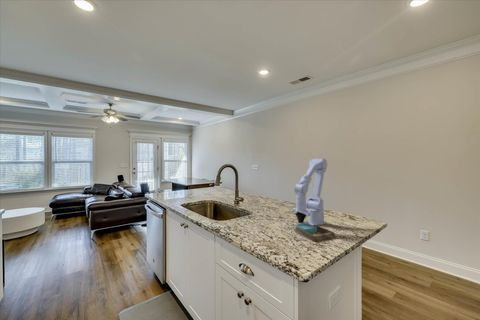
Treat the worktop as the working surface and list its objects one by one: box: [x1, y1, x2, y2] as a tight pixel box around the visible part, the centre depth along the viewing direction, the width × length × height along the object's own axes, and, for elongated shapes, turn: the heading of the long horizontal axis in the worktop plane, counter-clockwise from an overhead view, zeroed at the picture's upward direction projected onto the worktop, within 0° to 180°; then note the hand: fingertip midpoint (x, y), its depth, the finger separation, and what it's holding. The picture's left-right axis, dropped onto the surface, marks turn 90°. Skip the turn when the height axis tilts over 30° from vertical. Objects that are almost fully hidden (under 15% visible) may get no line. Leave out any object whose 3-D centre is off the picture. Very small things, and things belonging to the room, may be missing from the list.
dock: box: [294, 225, 336, 242], centre depth 118 cm, size 15×15×2 cm
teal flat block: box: [295, 221, 318, 234], centre depth 124 cm, size 10×8×4 cm
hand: (300, 224), depth 129 cm, fingers closed
